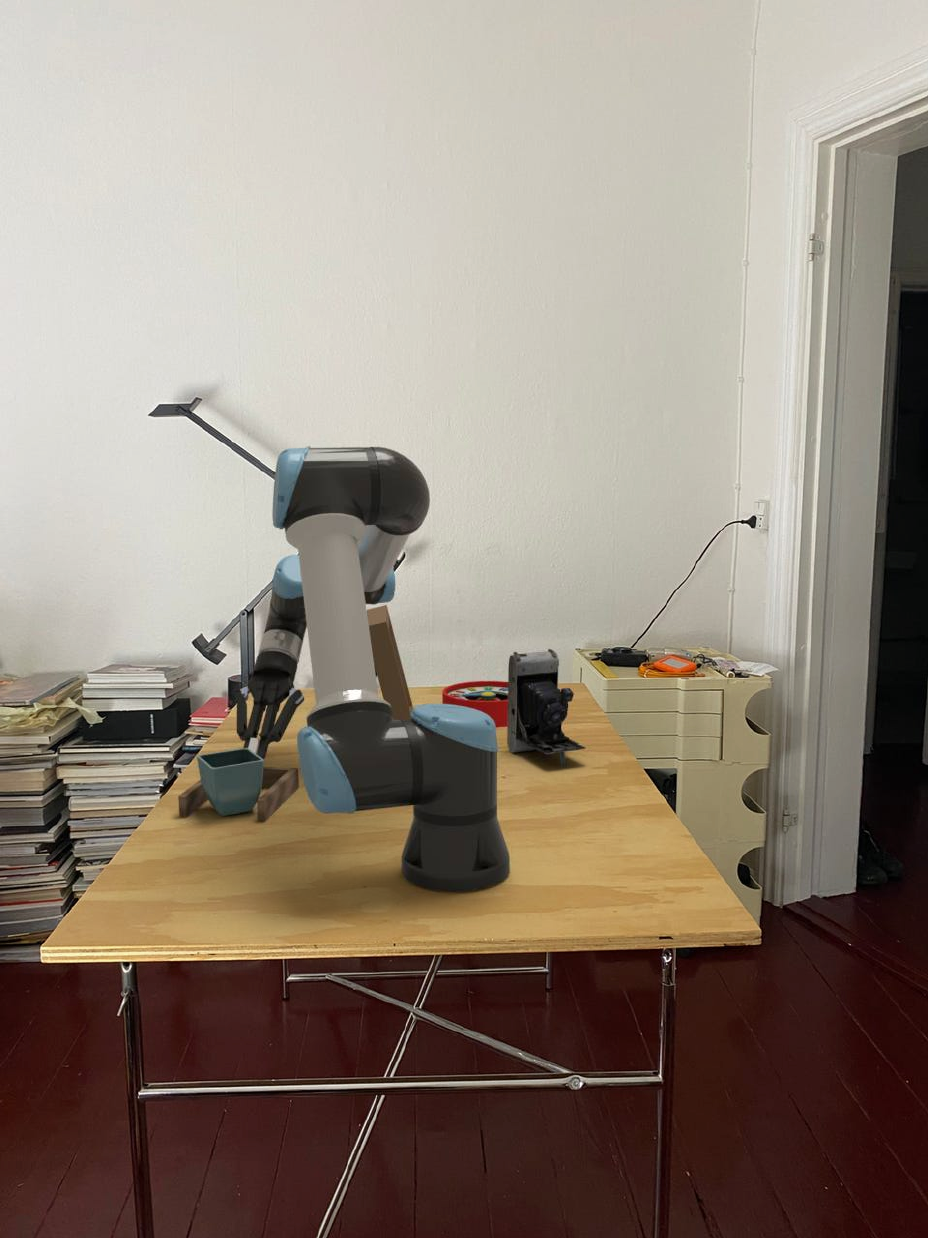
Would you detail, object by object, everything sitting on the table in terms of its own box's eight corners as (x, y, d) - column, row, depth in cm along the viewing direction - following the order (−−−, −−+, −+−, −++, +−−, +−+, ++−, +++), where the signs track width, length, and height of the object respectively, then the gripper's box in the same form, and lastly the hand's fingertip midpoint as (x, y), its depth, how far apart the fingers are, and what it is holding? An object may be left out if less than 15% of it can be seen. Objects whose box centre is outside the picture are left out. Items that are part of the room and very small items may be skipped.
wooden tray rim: (264, 821, 169) (264, 800, 168) (179, 817, 171) (178, 796, 171) (298, 787, 186) (298, 768, 185) (220, 783, 188) (219, 764, 187)
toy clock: (534, 702, 223) (439, 701, 224) (534, 729, 224) (439, 728, 224) (532, 680, 242) (445, 680, 243) (532, 705, 243) (445, 705, 244)
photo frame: (414, 717, 233) (412, 604, 229) (417, 745, 211) (415, 621, 207) (346, 719, 232) (343, 605, 228) (342, 747, 210) (338, 622, 206)
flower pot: (198, 807, 176) (195, 754, 175) (249, 798, 180) (247, 746, 179) (213, 823, 168) (211, 768, 167) (267, 813, 173) (265, 760, 171)
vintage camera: (542, 774, 193) (546, 668, 190) (504, 750, 207) (507, 650, 203) (588, 769, 197) (593, 664, 194) (548, 744, 211) (552, 646, 207)
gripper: (237, 647, 193) (205, 763, 179) (307, 649, 191) (279, 766, 177) (249, 670, 199) (219, 783, 185) (316, 672, 197) (290, 787, 183)
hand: (248, 775), depth 181 cm, fingers closed
